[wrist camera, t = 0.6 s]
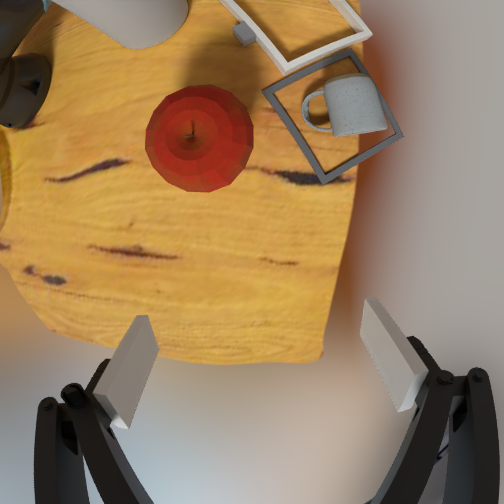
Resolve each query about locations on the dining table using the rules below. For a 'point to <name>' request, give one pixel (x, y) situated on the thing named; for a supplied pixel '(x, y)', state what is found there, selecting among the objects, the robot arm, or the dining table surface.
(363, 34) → the socket
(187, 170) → the apple
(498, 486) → the robot arm
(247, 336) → the dining table surface
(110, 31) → the cylinder vase
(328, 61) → the tray outline
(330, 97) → the ceramic mug
